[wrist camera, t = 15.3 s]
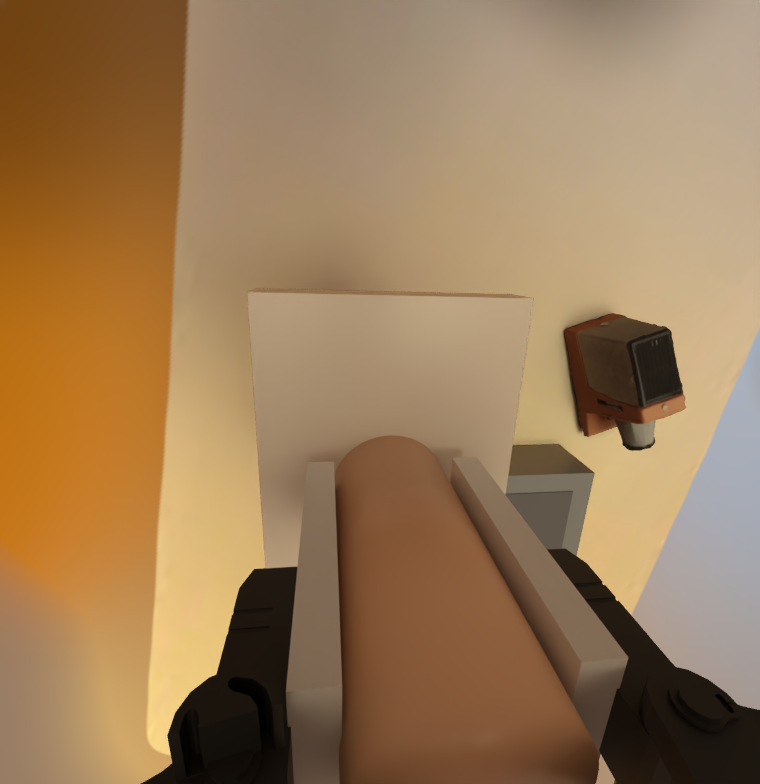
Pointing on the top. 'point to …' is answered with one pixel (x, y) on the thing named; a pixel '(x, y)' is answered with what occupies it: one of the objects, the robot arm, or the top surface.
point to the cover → (411, 528)
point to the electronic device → (624, 377)
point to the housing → (550, 493)
